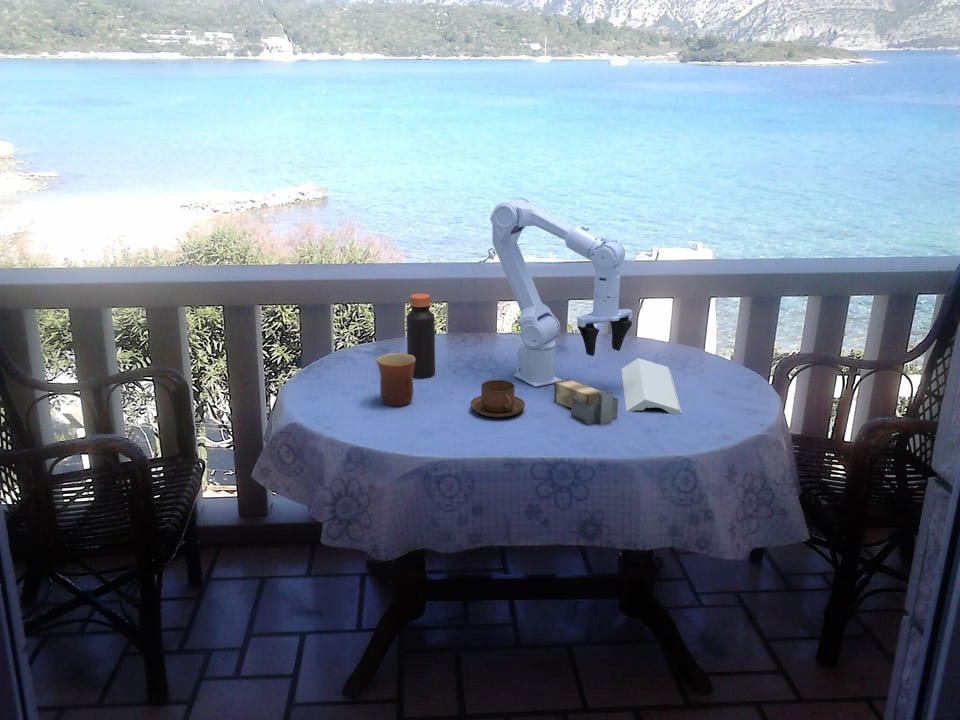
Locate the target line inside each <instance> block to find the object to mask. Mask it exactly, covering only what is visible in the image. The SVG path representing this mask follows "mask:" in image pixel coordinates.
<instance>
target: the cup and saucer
mask: <svg viewBox="0 0 960 720" xmlns="http://www.w3.org/2000/svg"><path fill="white" fill-rule="evenodd" d="M480 386H481V387H480V388H481V389H480V391H481V394H480V395H479V396H477V397H475V398H473V399H472V400H471V402H470V407H471V409H472V410H473V411H474V412H476V414H477V413H478V414H479V415H481V416H485V417H490V418H505V417H506V418H507V417H511V416H515V415H517V414H519V413H521V411H523V410H524V408H525V405H526V403H525V401H524V400H523V399H522V398H520V397H518V396H516V395H515V383H513V382H511V381H508V380H504V379H492V380H491V379H490V380H487V381H484V382H483V383H481V385H480Z"/></svg>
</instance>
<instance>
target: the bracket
mask: <svg viewBox="0 0 960 720" xmlns="http://www.w3.org/2000/svg"><path fill="white" fill-rule="evenodd" d="M618 408H619V399H618V398H617V397H614V392H613V391H610V390H608V391H604V392H603V393H599V397H598V402H595V403H591V404H589V403H587V402H585V401H583V400H581V399H580V398H578V397H576V396H575V397H572V407H571V410H570V417H572V418H574V419H576V420H577V421H578V422H579V421H580V422H581V423H583V424H585V425H587V426H591V425H595V424H598V425H600V426H601V425H605V424H606V425H607V424H609V423H612V421H613V420H616V419H618V411H619V409H618Z"/></svg>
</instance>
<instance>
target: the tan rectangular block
mask: <svg viewBox="0 0 960 720" xmlns="http://www.w3.org/2000/svg"><path fill="white" fill-rule="evenodd" d="M553 391H554V392H553V396H554V397H553V399H554V403H555V402H556V403H558V404H560V405H563V406H565V407H568V408H571V407H572V397H575V396H576V397H578V398H580V399H581V400H583V401H585V402H587V403H589V404H591V403H595V402H598V397H599V393H603V392H605V391H603V390H600V389H597V388H593V387H592V386H591V387H590V386H587V385H585V384H582V383H579V382H577V381H574V380H571V379H570V378H567V379H561V381H557V382H554V383H553Z"/></svg>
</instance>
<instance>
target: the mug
mask: <svg viewBox="0 0 960 720" xmlns="http://www.w3.org/2000/svg"><path fill="white" fill-rule="evenodd" d="M376 363H377V366H378V369H379V370H378V371H379V376H380V378H379V379H380V382H379V384H380V385H379V387H380V388H379V389H380V392H379V394H380V398H381V402H382V403H384V404H385V405H387V406H389V407H404V406H406V405H408V404H410V403H411V402H412V400H413V397H414V378H413V375H414V371H415V364H416V359H415V356H414V355H411V354H407V353H401V352H397V353H396V352H395V353H394V352H393V353H386V354H382V355H380V356H378V357H377V358H376Z"/></svg>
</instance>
